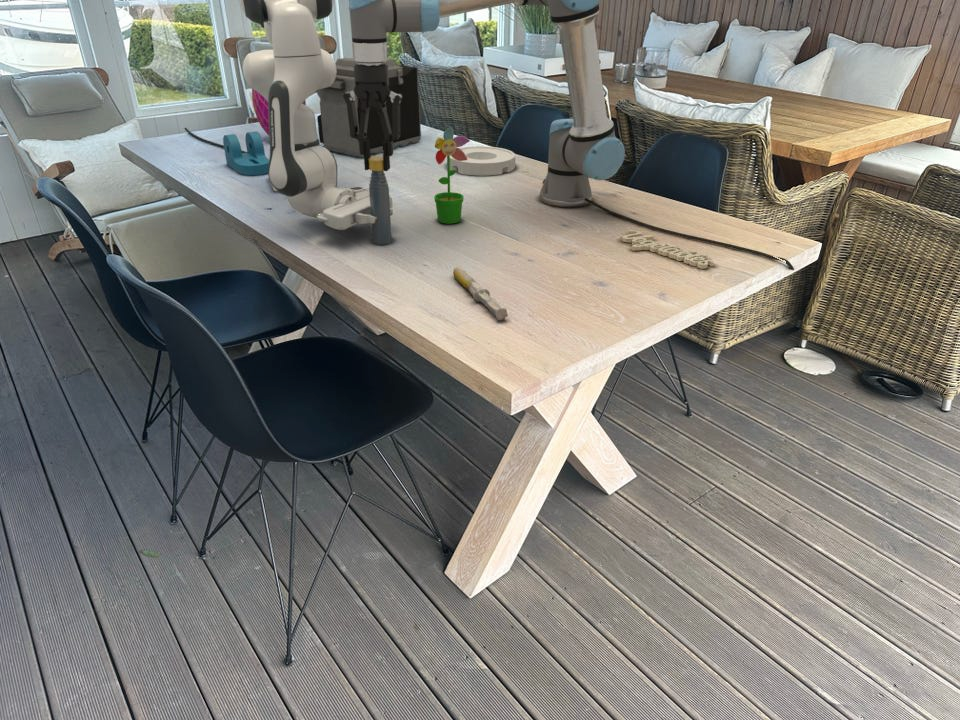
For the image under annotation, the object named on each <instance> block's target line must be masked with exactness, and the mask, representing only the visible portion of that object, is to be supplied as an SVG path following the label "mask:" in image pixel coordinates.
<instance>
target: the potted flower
mask: <svg viewBox="0 0 960 720" xmlns="http://www.w3.org/2000/svg"><path fill="white" fill-rule="evenodd" d="M454 135H455V131H454V128H453V127H452V126H449V127H447V128H446V129H445V130H444V131H443V138H442V137H437V139H436V141H435V143H434V148H435V149H436V150H438V151H437V152H436V153H435V161H436V163H437V164H438V165H442V163H443V162H444V161H445V160H446V159H447V160H446V167H447V168H446V169H447V171H446V172H447V173H446V174H447V177H446V176H442V177H440V178H438V183H440V184H441V185H447V191H445V192H438V193H437V194H435V195H434V196H433V198H434V199H433V200H434V202H435V208H436V214H437V221H438V222H439V223H441V224H445V225H446V224H449V225H450V224H451V225H452V224H456V223H459V222H461V218H462V208H463V202H464V195H463V194H462V193H459V192H455V191H454V192H453V191H452V192H451V177H452V176H454V175H455V174H456V173H457V171H456V170H450V156H452V157H453V158H454V159H456V160H458V161H464V160H467V157H466V155H465V154H464V152H463V151H462V150H460V149H459V148H462V147H463V146H465V145H467V143H470V142H471V140H470V139H469V138H468V137H467V136H464V135H457V136H454Z"/></svg>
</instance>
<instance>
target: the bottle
mask: <svg viewBox="0 0 960 720" xmlns="http://www.w3.org/2000/svg"><path fill="white" fill-rule="evenodd" d="M368 190H369V198H370V212H371V214H373V215H376V216H377V222H375V223H373V224H372V223H370V224H371V236H372V238H371V239H372V244H374V245H379V246H384V245H385V246H386V245H390V244H391V243H392V242H393V237H392V220H391V219H392V218H391V216H390V199H389V195H390V187H389V183H388V180H387V177H386V173H385V171H384V170H382V171H372V170H371V173H370V177H369V184H368Z"/></svg>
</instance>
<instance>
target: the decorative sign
mask: <svg viewBox="0 0 960 720" xmlns="http://www.w3.org/2000/svg"><path fill="white" fill-rule="evenodd" d="M654 237H655V236H654V235H653V234H652V235H651V234H648V235H647V234H646V235H642V232H641V231H639V230H633V229H629V230H628V232H627V234H625V235H622V238H621V241H622V242H623V243H631V245H632V246H631V251H633V252H634V251H650V252H652V253H657V254H658V255H661V256H663V257H668V258H669V259H673V260H676V261H678V262H683V263H684V264H688V265H689V266H692V267H697V268H698V269H701V270H706V269H708V266H710V267H713V266H714V264H715V261H714V260H712V259H707V258H708V254H707V253H698V251H697V250H694V249H693V250H684V251H683V250H681V247H679V246H678V245H676V244H673V245H672V244H670V243H668V242H667V243H665V244H664V243H659V242H657V241H654Z"/></svg>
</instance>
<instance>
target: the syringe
mask: <svg viewBox="0 0 960 720" xmlns="http://www.w3.org/2000/svg"><path fill="white" fill-rule="evenodd" d="M452 274H453V277H454V279H455V280H457V281H458V282H459V283H460V285H462V287H464V289H466V290H467V291H468V293H470V295H471V296H472V298H473V300H474V302H477V303H478V302H480V303H482V304H483V305H484V306H485V307H486V308H487V309H488V310H489V311H490V312H491V313H492V314H493V315H494V316H495V317H496V320H497V321H503V320H504V319H506V318H507V317H509V314H508V310H507V308H506V307H502V306H501V305H500V303H498V302H497V301H496V300H494V299H493V298H492V297H491V296H490V295H491V293H490V290H488V289H486V288H483V287H482V286H481V285H480V284H479V283H478V282H477V281H476V280H474V278H473V277H471V275H469V274H468V273H467V272H466V270H465V269H464V268H463V267H462V266H456V267H454V268H453V271H452Z"/></svg>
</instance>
